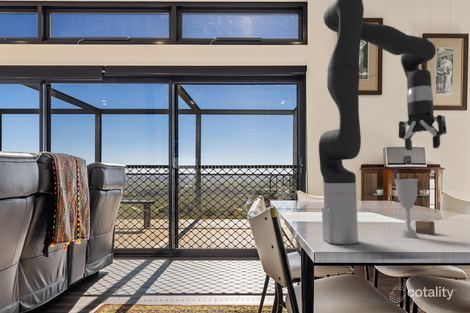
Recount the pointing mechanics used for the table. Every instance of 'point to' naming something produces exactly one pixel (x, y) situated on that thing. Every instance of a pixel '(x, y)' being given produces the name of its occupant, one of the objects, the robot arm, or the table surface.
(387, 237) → the table surface
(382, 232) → the table surface
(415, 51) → the robot arm
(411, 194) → the chalice
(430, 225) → the walnut cube
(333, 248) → the table surface
